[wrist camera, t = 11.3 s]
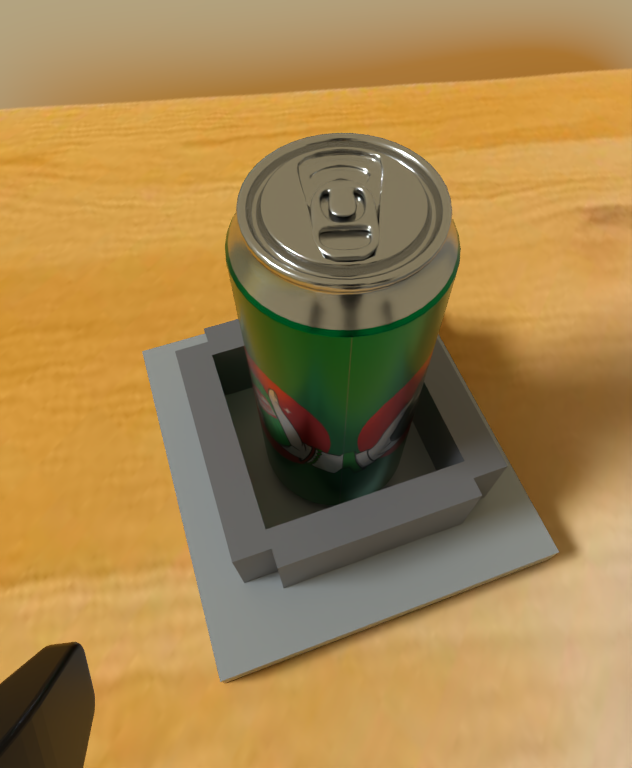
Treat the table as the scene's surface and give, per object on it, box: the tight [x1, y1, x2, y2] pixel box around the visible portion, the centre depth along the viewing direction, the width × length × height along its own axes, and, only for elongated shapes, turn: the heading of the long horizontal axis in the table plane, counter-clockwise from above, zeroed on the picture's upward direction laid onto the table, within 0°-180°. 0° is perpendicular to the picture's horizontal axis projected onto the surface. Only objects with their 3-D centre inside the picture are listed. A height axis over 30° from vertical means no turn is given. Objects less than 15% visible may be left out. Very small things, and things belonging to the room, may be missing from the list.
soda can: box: [225, 133, 461, 506], centre depth 17 cm, size 5×5×12 cm
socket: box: [142, 319, 559, 683], centre depth 21 cm, size 13×12×4 cm
